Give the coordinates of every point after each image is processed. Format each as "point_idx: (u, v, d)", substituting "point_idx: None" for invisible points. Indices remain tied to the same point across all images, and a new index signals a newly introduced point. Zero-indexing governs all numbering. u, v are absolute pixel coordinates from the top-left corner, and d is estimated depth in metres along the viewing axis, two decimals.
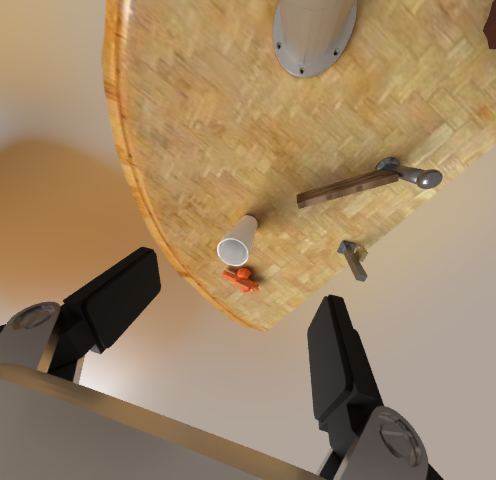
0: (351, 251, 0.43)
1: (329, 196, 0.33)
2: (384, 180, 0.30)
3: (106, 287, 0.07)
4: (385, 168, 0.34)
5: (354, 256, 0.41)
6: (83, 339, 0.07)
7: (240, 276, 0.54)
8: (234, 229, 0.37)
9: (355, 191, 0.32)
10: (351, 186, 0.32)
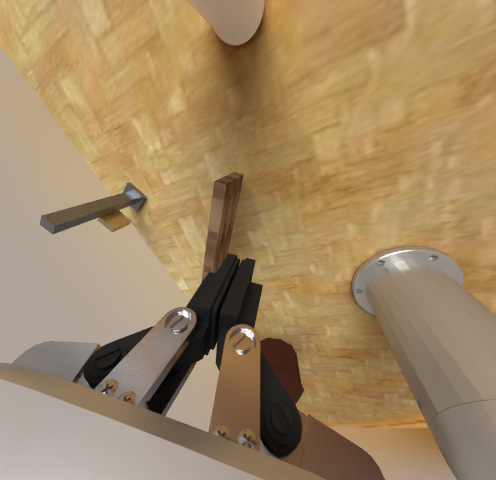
0: (123, 206, 0.27)
1: (213, 236, 0.19)
2: None
3: (221, 293, 0.08)
4: None
5: (110, 211, 0.25)
6: (206, 341, 0.07)
7: None
8: None
9: (205, 264, 0.22)
10: (215, 262, 0.22)
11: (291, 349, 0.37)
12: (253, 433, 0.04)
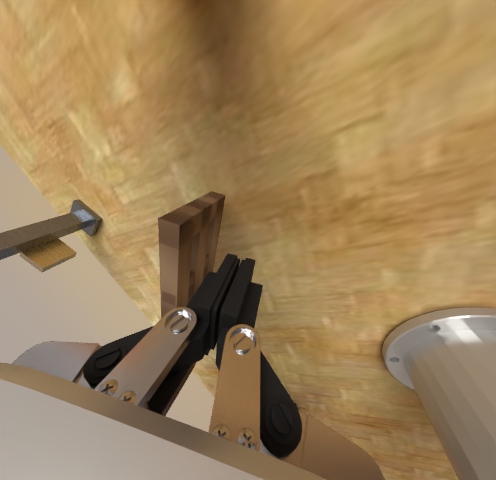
0: (64, 233, 0.19)
1: (170, 299, 0.12)
2: None
3: (221, 293, 0.08)
4: None
5: (39, 242, 0.18)
6: (206, 341, 0.07)
7: None
8: None
9: None
10: None
11: None
12: (253, 433, 0.04)
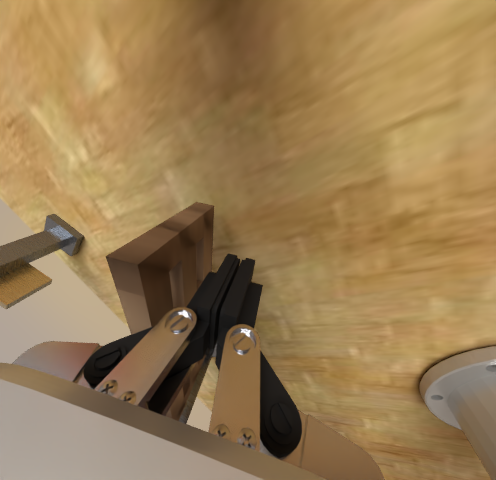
0: (36, 256, 0.16)
1: None
2: None
3: (221, 293, 0.08)
4: None
5: (2, 271, 0.14)
6: (206, 341, 0.07)
7: None
8: None
9: None
10: None
11: None
12: (253, 433, 0.04)
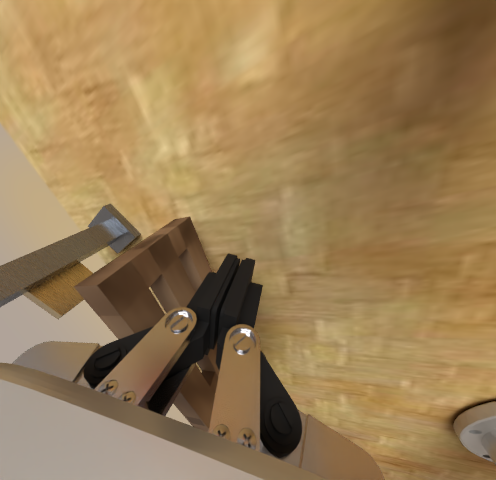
0: (89, 254, 0.13)
1: None
2: None
3: (221, 293, 0.08)
4: None
5: (56, 273, 0.11)
6: (206, 341, 0.07)
7: None
8: None
9: (186, 415, 0.11)
10: (202, 402, 0.11)
11: None
12: (253, 433, 0.04)
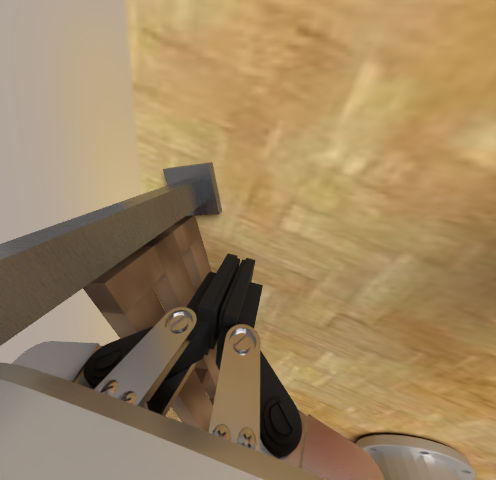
0: None
1: None
2: None
3: (221, 293, 0.08)
4: None
5: None
6: (206, 341, 0.07)
7: None
8: None
9: (177, 411, 0.11)
10: (194, 399, 0.11)
11: None
12: (253, 433, 0.04)
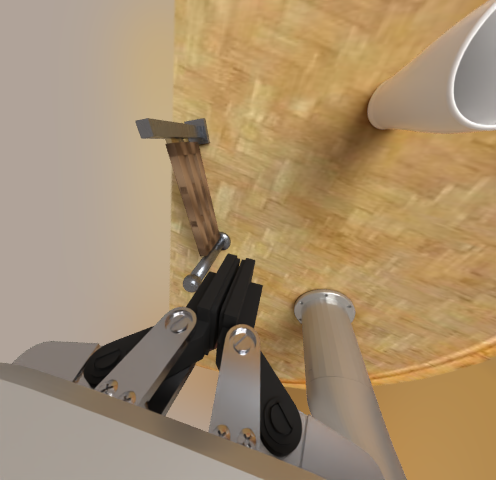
0: (188, 138, 0.26)
1: (184, 191, 0.24)
2: (201, 245, 0.28)
3: (221, 293, 0.08)
4: (223, 244, 0.35)
5: (180, 138, 0.24)
6: (206, 341, 0.07)
7: None
8: None
9: (190, 220, 0.26)
10: (197, 216, 0.26)
11: None
12: (253, 433, 0.04)
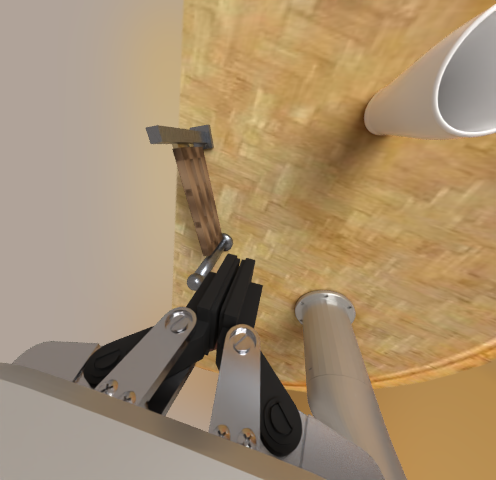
0: (194, 143, 0.27)
1: (189, 193, 0.25)
2: (204, 246, 0.29)
3: (221, 293, 0.08)
4: (225, 245, 0.36)
5: (186, 143, 0.25)
6: (206, 341, 0.07)
7: None
8: None
9: (195, 221, 0.27)
10: (201, 217, 0.28)
11: None
12: (253, 433, 0.04)
